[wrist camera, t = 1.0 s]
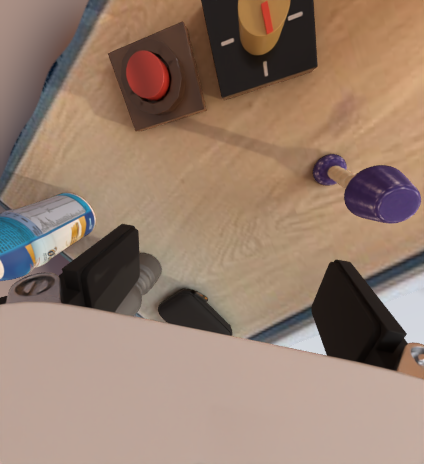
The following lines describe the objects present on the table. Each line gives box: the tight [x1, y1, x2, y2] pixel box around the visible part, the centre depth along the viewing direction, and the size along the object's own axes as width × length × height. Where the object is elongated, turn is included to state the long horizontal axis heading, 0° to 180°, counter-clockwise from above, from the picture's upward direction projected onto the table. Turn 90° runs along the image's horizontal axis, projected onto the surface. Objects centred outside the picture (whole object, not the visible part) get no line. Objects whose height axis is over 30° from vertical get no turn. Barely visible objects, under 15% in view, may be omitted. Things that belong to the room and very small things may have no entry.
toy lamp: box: [313, 154, 421, 223], centre depth 23 cm, size 5×5×17 cm
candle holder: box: [114, 253, 162, 316], centre depth 31 cm, size 6×6×25 cm
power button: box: [126, 50, 170, 100], centre depth 25 cm, size 4×4×2 cm
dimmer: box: [201, 0, 317, 100], centre depth 25 cm, size 11×10×3 cm
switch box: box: [108, 22, 206, 131], centre depth 27 cm, size 10×9×4 cm
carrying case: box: [158, 289, 232, 336], centre depth 44 cm, size 11×3×15 cm
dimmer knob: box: [238, 0, 290, 55], centre depth 21 cm, size 4×4×6 cm
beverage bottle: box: [0, 193, 96, 281], centre depth 31 cm, size 8×8×20 cm
